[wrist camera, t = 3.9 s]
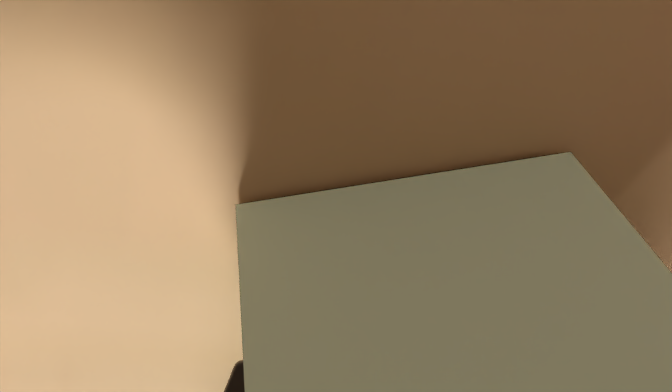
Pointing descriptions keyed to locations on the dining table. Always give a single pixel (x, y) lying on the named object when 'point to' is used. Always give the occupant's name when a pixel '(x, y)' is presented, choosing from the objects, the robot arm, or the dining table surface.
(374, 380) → the sage cube
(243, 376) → the robot arm
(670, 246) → the dining table surface
